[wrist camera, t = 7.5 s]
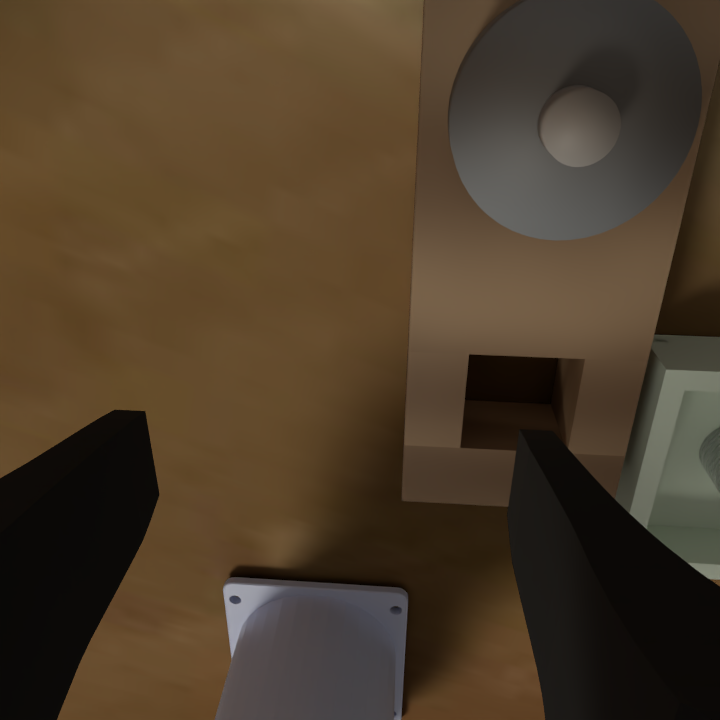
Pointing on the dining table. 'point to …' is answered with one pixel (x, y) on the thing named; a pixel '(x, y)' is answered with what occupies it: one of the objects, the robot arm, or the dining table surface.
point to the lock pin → (711, 457)
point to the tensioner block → (545, 222)
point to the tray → (676, 450)
